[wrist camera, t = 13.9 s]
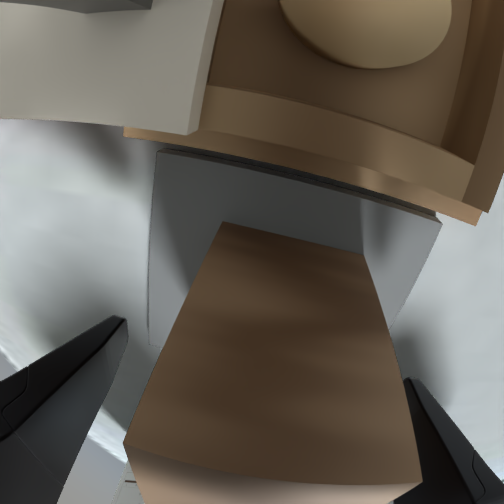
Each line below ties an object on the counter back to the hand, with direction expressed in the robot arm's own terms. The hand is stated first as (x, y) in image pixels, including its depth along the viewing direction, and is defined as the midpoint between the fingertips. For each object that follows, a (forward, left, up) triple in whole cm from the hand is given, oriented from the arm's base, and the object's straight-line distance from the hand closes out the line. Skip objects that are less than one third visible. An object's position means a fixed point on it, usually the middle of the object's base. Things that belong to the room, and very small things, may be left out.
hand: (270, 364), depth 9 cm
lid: (+7, -10, 0) cm, 13 cm away
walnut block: (0, 0, -3) cm, 3 cm away
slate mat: (0, 0, -4) cm, 4 cm away
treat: (0, -10, -3) cm, 11 cm away
